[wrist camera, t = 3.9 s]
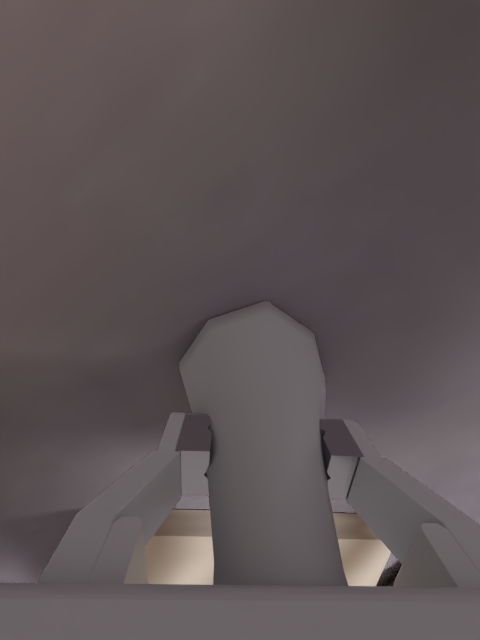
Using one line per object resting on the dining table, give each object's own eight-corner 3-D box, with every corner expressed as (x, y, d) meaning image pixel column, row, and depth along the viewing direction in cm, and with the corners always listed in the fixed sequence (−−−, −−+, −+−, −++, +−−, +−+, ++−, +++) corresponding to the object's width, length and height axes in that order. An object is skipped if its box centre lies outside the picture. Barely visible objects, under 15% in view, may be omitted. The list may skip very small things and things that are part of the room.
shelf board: (382, 513, 17) (433, 609, 12) (332, 641, 23) (354, 735, 18) (83, 507, 16) (27, 607, 11) (113, 641, 22) (84, 740, 17)
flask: (239, 443, 14) (249, 854, 5) (154, 358, 12) (-120, 777, 3) (346, 379, 13) (653, 776, 3) (270, 271, 11) (509, 512, 1)
